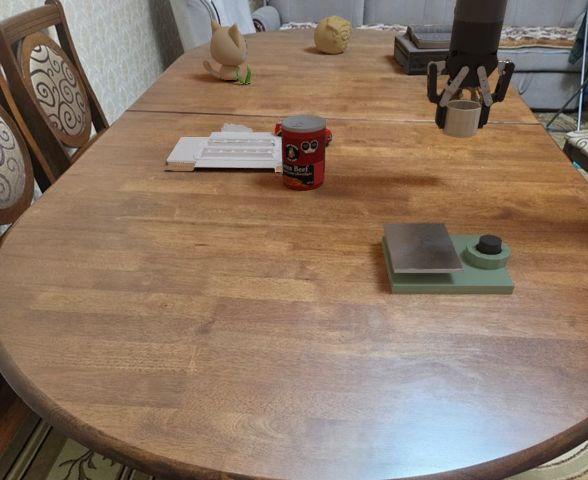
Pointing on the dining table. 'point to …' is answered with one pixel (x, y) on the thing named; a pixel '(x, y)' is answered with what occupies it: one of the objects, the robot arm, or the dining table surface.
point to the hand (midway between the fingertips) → (460, 127)
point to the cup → (462, 118)
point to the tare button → (489, 244)
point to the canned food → (303, 151)
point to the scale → (474, 280)
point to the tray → (230, 149)
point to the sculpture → (332, 34)
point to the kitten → (227, 52)
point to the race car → (278, 132)
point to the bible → (422, 47)
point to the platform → (421, 248)
